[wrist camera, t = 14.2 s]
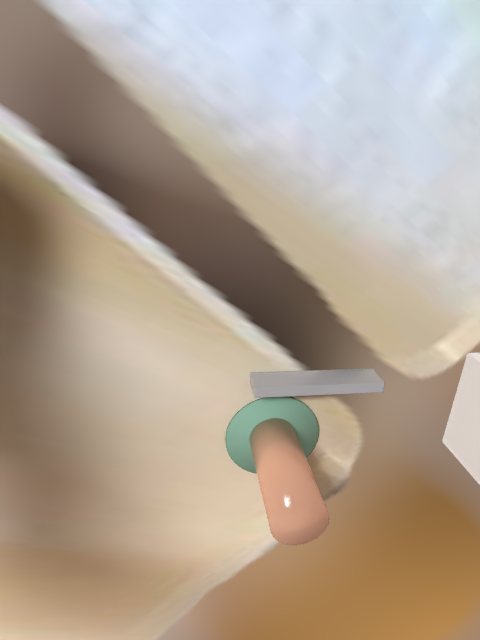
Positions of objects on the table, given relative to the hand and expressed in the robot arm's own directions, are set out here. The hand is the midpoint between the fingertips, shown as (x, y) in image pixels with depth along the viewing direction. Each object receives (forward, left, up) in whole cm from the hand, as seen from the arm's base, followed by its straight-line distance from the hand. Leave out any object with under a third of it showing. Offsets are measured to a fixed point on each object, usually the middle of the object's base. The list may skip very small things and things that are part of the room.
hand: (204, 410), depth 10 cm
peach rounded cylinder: (+10, -26, -30) cm, 41 cm away
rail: (+14, -18, -31) cm, 38 cm away
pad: (+10, -26, -31) cm, 41 cm away
